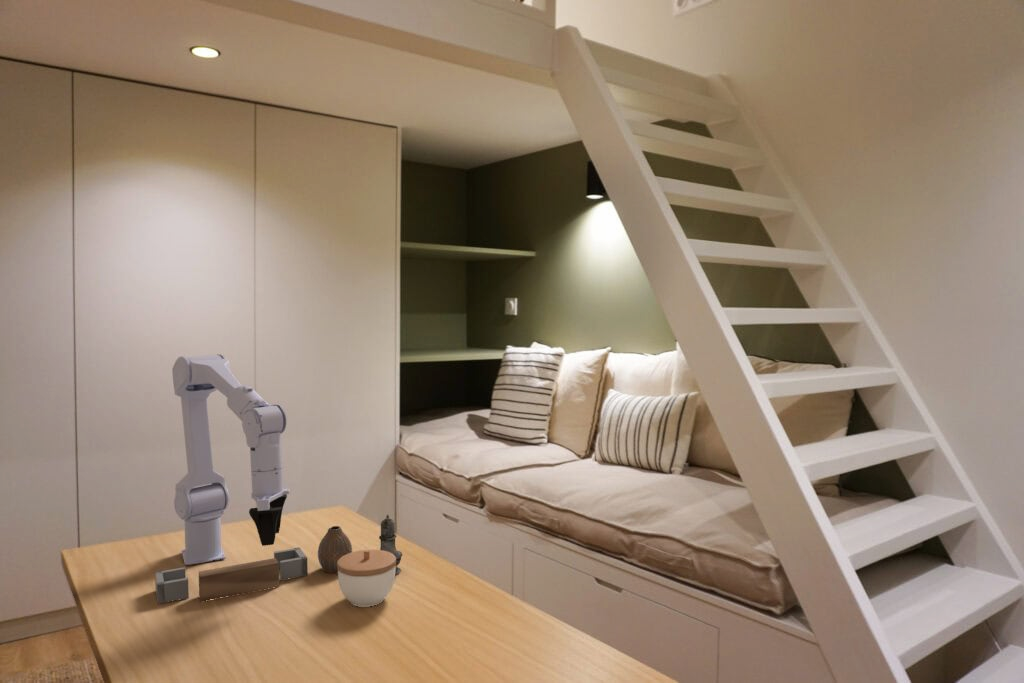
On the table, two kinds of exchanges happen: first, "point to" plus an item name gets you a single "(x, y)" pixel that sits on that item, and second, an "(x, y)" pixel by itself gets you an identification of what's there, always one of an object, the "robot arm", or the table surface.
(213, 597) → the slat
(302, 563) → the cap far
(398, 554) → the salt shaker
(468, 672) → the table surface
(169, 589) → the gray u-shaped clamp
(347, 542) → the vase
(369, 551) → the lidded jar
